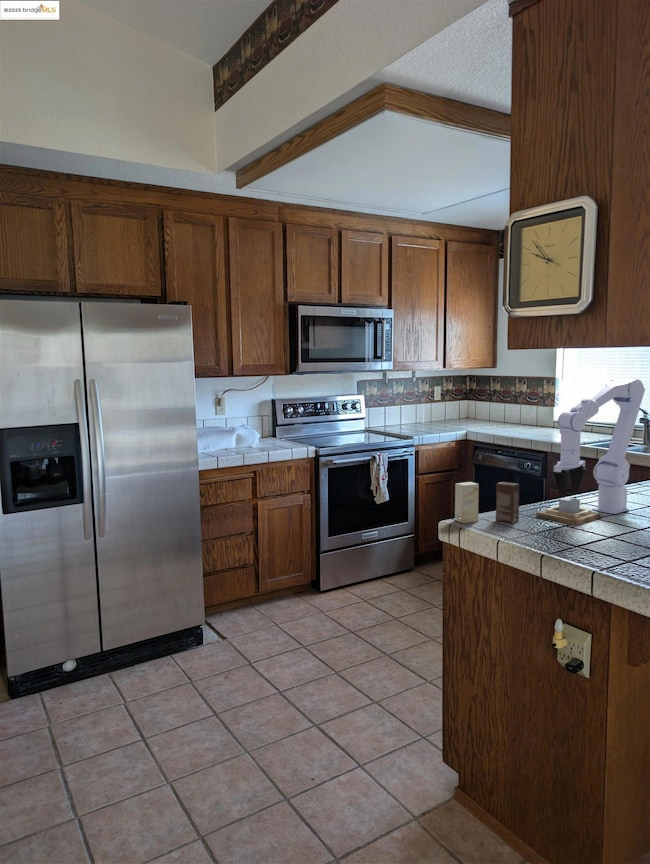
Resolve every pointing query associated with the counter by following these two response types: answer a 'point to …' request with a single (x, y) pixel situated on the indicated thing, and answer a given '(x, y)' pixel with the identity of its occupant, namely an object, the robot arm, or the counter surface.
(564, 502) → the block
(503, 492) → the box
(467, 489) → the skincare box
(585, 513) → the base board
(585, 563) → the counter surface
